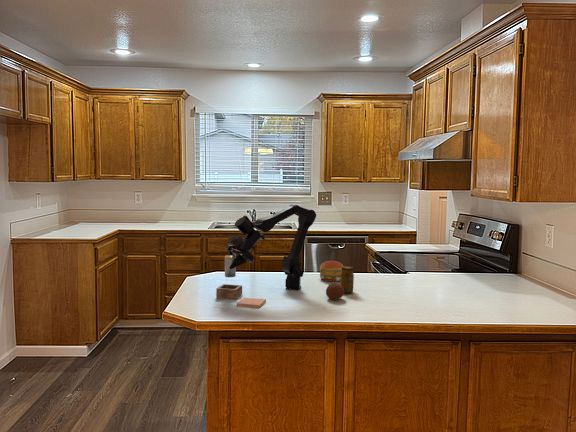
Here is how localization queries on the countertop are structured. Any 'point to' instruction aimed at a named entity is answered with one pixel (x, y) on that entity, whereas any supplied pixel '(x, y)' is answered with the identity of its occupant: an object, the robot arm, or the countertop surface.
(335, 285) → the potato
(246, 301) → the terracotta tile
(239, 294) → the socket block
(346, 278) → the condiment
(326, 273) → the burger
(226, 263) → the silver and gold cylinder
